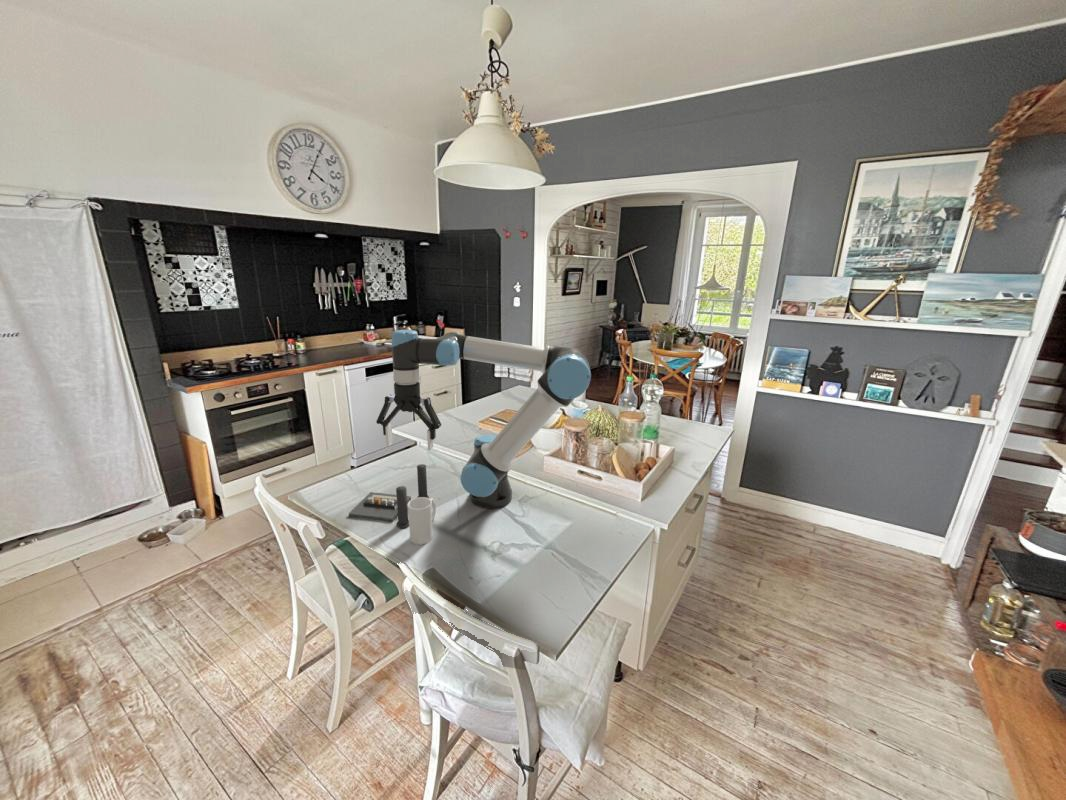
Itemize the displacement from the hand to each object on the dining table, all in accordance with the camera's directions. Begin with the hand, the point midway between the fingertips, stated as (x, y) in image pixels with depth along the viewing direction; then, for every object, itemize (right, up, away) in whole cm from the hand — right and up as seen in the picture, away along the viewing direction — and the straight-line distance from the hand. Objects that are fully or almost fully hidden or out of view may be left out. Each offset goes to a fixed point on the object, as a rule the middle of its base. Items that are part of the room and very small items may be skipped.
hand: (410, 446), depth 134 cm
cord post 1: (-2, -25, -1) cm, 25 cm away
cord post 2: (0, -20, +14) cm, 25 cm away
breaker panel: (-12, -22, +8) cm, 26 cm away
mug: (+6, -27, -6) cm, 28 cm away
